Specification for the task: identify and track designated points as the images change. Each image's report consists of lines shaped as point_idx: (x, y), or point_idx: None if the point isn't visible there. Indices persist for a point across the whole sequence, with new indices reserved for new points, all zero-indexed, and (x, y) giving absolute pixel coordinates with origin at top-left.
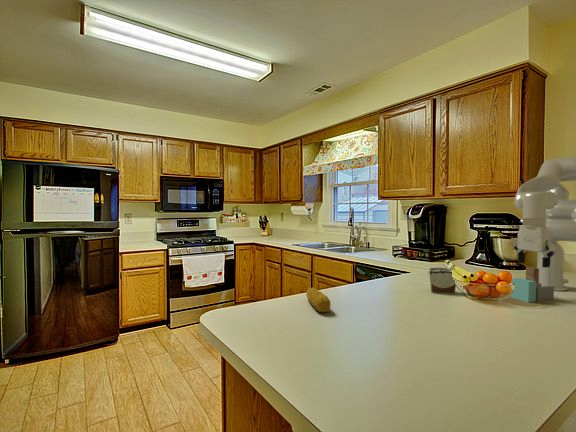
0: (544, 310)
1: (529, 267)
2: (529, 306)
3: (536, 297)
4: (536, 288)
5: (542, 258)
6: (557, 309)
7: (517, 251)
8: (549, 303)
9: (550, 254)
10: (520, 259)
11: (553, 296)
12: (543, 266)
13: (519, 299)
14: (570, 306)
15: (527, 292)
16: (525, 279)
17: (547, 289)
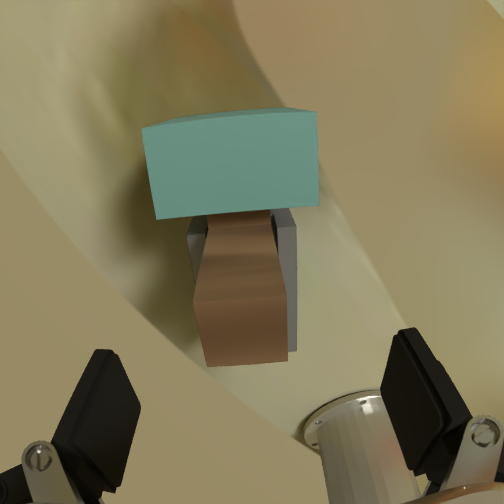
0: (54, 84)
1: (285, 338)
2: (114, 60)
3: None
4: (198, 231)
5: (80, 430)
6: (60, 163)
7: (488, 437)
8: (147, 220)
9: (6, 475)
10: (407, 369)
11: None
12: (99, 353)
13: (231, 111)
14: (101, 269)
15: (171, 120)
16: (244, 201)
17: None
